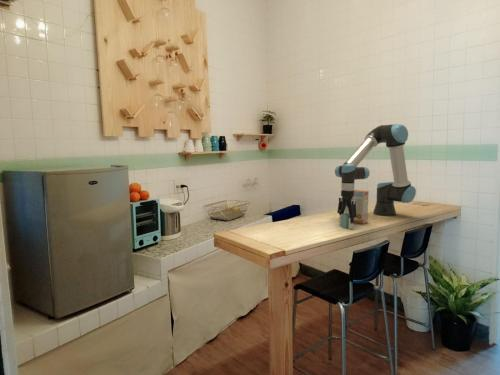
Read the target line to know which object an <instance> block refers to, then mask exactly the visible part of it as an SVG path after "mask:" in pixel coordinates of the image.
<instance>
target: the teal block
mask: <svg viewBox="0 0 500 375" xmlns="http://www.w3.org/2000/svg"><path fill="white" fill-rule="evenodd" d="M349 217H350V215H349V214H348V213H345V214H341V226H340V227H341V228H343V229H349Z"/></svg>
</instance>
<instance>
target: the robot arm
mask: <svg viewBox="0 0 500 375" xmlns="http://www.w3.org/2000/svg"><path fill="white" fill-rule="evenodd" d="M408 137H409V132H408V128H407V127H406V126H405V125H404V124H397V123H394V124H385V125H384V124H382V125H378V126H376V127H375V128H373V129H372V130H371V131H369V133H367V134H366V135H365V137H364V140H363V141H362V142H361V143H360V144H359V146H357V148H356V149H355V150H354V151H353V153H352V154H351V155H350V156H349V157H348V158H347V160H345V162H344V163H343V164H342V165H338V166H337V165H336V167H335V168H334V174H335V176H336V177H338V178H341V184H340V185H341V190H340V196H341V197H338V205H337V210H336V211H337V214H339V226H340V227H341V214H344V211H345V208H346V206H347V207H348V211H349V215H350V217H349V228H348V229H350V230H351V229H354V218H355V217H357V214H356V201H353V199H352V197H353V196H354V190H355V180H366V179H368V178H369V177H370V174H371V173H370V170H369V168H368V167H367V166H366V167H365V166H359V165H360V164H361V162H362V161H363V160H364V159H365V158H366V156H367V155H368V154H369V153H370V152H371V151H372V149H373V148H376V147H377V146H378V145H379V144H383V143H385V145H386V146H385V147H386V149H387V148H388V150H389V158H390V164H391V170H392V177H393V181H387V182H379V183H377V185H376V186H377V187H376V201H375V202H376V203H375V206H374V209H373V212H372V213H373V214H374V215H377V216H387V217H392V216H396V215H397V211H396V208H395V202H398V203H403V204H405V203H406V204H410V203H411V202H413V201H414V199H415V198H416V194H417V191H416V190H417V189H416V187H415V186H413V185H412V184H411V181H410V180H409V179H408V172H407V166H406V164H407V163H406V156H405V149H404V146H405V145H406V141H408V139H409V138H408Z"/></svg>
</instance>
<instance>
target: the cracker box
mask: <svg viewBox="0 0 500 375" xmlns="http://www.w3.org/2000/svg"><path fill="white" fill-rule="evenodd" d="M369 193H370V192H369V190H361V189H354V196H353V197H352V199H353V201H356V214H357V217H355V218H354V223H355V224H360V225H364V224H368V221H369V220H368V218H369V216H368V215H369ZM345 213H348V214H349V211H348V207H347V206H346V208H345V211H344V214H345ZM354 223H353V224H354Z"/></svg>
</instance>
